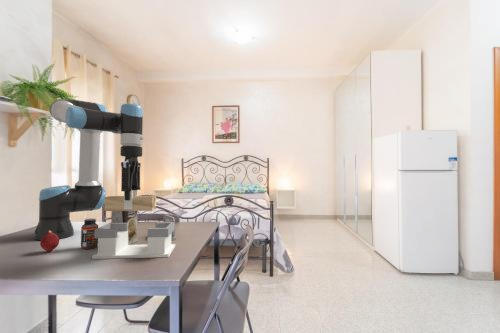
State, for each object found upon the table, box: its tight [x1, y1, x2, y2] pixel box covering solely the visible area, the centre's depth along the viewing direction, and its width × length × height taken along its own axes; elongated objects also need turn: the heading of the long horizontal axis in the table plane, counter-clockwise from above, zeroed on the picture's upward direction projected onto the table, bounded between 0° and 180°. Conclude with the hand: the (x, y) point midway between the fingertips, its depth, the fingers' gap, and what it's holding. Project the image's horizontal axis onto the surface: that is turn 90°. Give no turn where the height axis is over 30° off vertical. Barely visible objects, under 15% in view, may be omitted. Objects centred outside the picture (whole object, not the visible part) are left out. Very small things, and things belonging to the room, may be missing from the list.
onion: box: [39, 231, 60, 253], centre depth 103 cm, size 6×6×8 cm
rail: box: [103, 195, 157, 212], centre depth 102 cm, size 5×17×5 cm, turn 94°
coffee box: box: [110, 211, 138, 245], centre depth 115 cm, size 9×6×16 cm
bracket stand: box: [91, 221, 176, 260], centre depth 103 cm, size 14×26×10 cm, turn 95°
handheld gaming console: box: [147, 214, 177, 241], centre depth 125 cm, size 13×9×10 cm
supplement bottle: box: [80, 218, 99, 250], centre depth 110 cm, size 6×6×11 cm
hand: (131, 208), depth 102 cm, fingers closed on rail, 5 cm apart
